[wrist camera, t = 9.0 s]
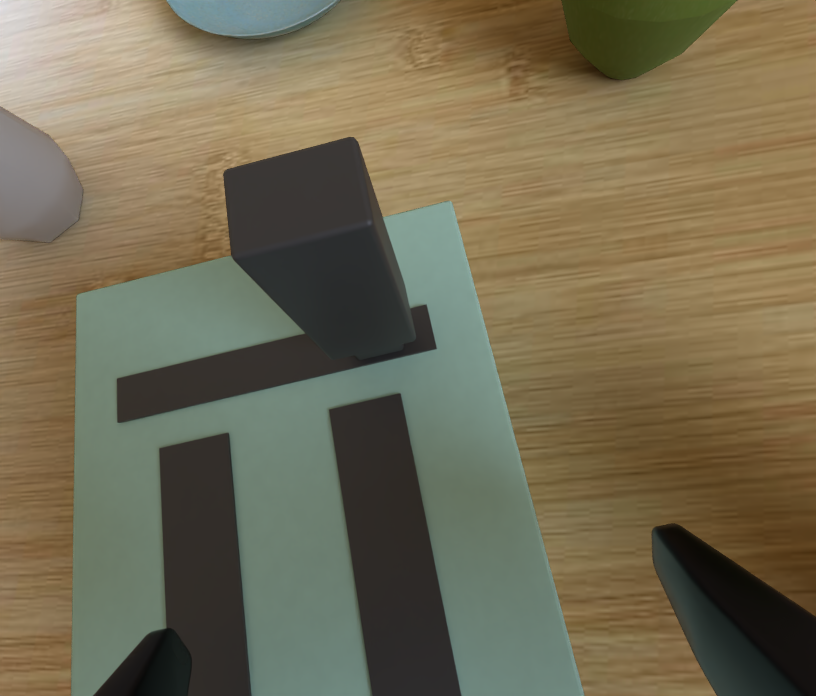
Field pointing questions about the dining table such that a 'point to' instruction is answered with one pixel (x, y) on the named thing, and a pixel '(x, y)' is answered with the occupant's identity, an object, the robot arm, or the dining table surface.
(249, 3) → the saucer
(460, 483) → the toaster
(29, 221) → the salt shaker
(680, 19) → the apple
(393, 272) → the slide button
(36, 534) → the dining table surface
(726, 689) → the robot arm
